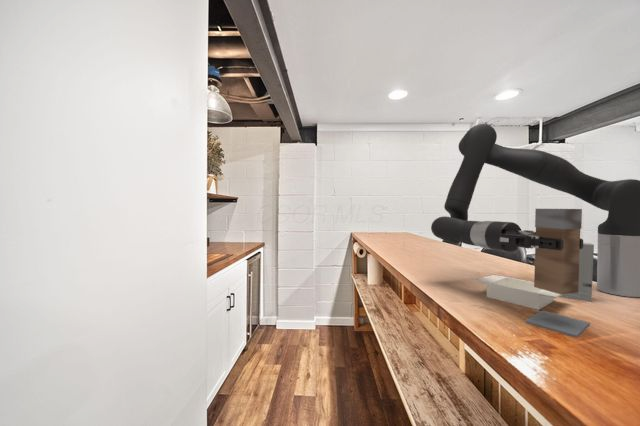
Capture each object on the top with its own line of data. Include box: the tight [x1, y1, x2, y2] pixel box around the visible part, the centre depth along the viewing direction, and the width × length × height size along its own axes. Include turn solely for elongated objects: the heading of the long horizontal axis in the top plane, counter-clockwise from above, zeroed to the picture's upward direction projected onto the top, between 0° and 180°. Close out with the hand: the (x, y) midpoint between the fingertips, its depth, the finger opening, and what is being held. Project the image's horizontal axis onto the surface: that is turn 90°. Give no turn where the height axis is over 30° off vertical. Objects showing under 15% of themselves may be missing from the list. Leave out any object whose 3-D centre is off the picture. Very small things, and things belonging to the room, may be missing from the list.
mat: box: [524, 309, 590, 339], centre depth 55 cm, size 10×8×1 cm
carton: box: [474, 274, 562, 311], centre depth 70 cm, size 11×17×4 cm, turn 35°
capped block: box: [533, 208, 583, 294], centre depth 55 cm, size 5×5×17 cm
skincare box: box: [558, 242, 595, 303], centre depth 73 cm, size 8×7×16 cm
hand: (571, 244), depth 52 cm, fingers closed on capped block, 5 cm apart
